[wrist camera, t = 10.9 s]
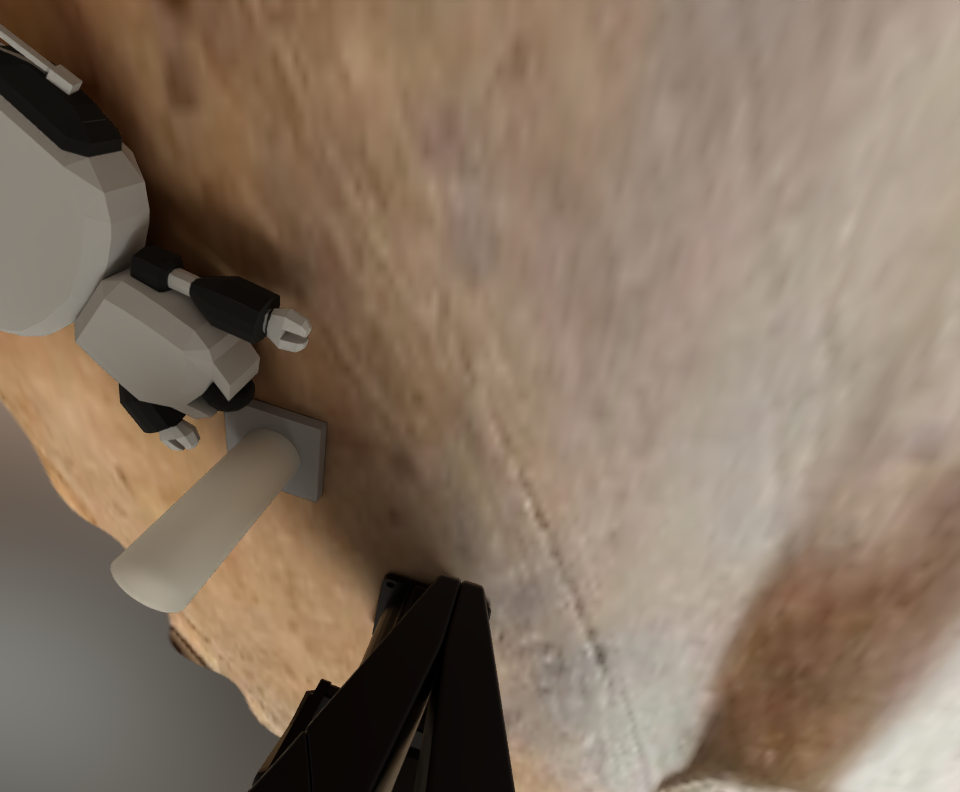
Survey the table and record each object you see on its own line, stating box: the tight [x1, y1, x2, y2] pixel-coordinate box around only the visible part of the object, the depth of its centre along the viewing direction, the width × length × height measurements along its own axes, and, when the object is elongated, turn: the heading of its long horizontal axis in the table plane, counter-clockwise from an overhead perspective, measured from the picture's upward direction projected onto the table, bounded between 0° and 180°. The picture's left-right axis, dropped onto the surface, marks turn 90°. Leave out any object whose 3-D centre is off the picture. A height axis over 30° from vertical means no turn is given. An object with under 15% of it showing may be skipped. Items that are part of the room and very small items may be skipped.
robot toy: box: [0, 24, 312, 451], centre depth 19 cm, size 12×4×15 cm
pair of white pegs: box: [111, 399, 327, 613], centre depth 14 cm, size 33×5×9 cm, turn 168°
